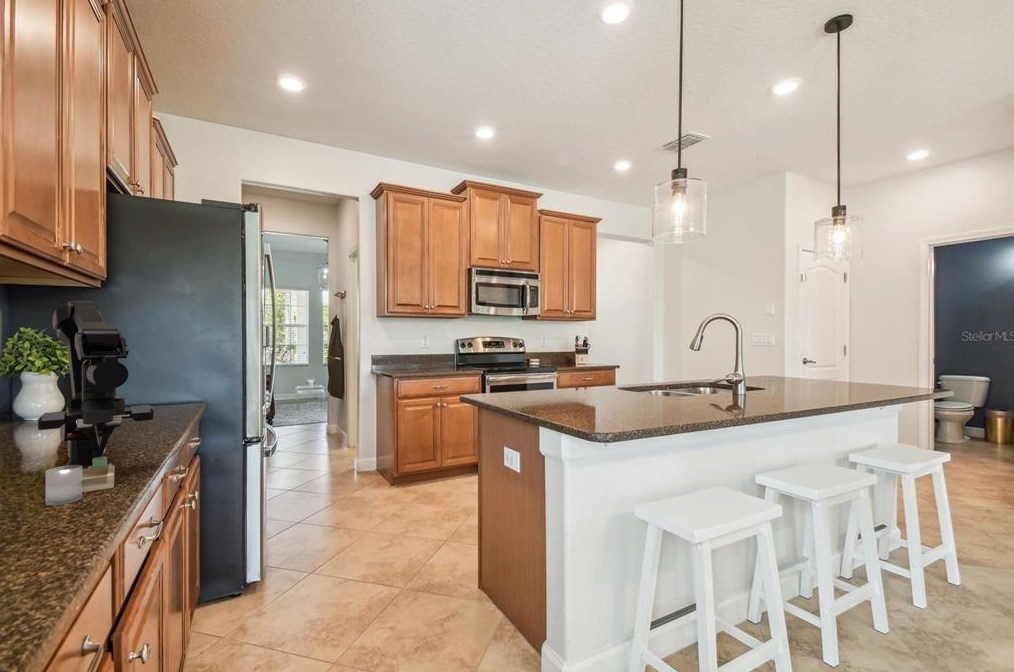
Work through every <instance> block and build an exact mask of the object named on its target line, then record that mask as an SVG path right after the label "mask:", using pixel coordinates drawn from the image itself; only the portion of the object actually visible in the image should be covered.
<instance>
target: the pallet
mask: <svg viewBox="0 0 1014 672" xmlns="http://www.w3.org/2000/svg"><path fill="white" fill-rule="evenodd" d="M114 486H115V464H114V465H113V464H112V465H111V466H104V467H97V468H89V469H88V468H82V493H86V492H93V491H101V490H106V489H107V490H108V489H112V488H113V489H114Z"/></svg>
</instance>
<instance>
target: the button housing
mask: <svg viewBox="0 0 1014 672" xmlns="http://www.w3.org/2000/svg"><path fill="white" fill-rule="evenodd" d="M111 465H113V463H107V466H111ZM89 468H93V465H88V466H87V469H89Z"/></svg>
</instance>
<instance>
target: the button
mask: <svg viewBox="0 0 1014 672" xmlns="http://www.w3.org/2000/svg"><path fill="white" fill-rule="evenodd" d="M107 464H108V456H104V457H97V458H93V465H92V466H93V468H97V467H104V466H107Z"/></svg>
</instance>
